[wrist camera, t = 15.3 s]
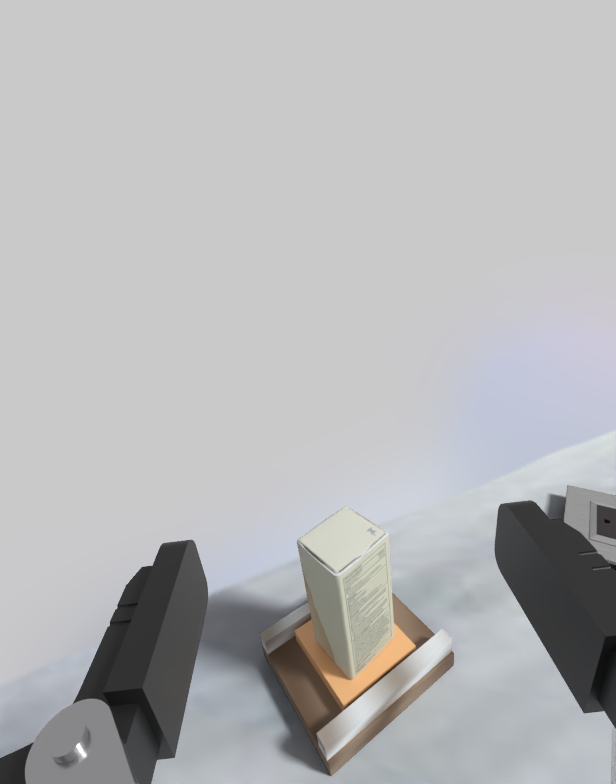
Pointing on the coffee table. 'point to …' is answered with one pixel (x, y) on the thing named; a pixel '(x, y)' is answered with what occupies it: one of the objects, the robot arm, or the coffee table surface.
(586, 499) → the electrical outlet
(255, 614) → the coffee table surface
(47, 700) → the coffee table surface
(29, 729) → the coffee table surface
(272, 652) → the rail board
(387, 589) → the box
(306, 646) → the plate
